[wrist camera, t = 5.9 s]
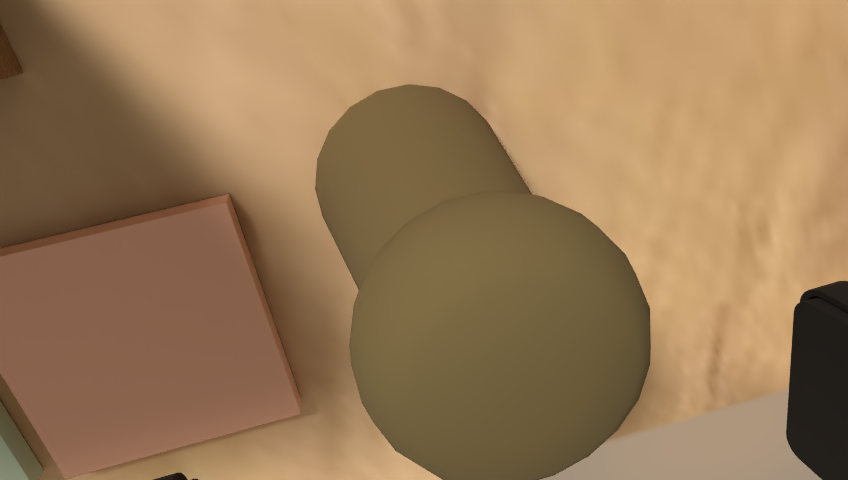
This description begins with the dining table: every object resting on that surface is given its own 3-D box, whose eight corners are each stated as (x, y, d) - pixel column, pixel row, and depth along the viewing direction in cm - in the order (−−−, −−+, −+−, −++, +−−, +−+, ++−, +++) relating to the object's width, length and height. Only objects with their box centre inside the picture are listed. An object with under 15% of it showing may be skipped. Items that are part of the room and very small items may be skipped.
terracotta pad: (229, 193, 18) (225, 202, 17) (300, 399, 21) (300, 413, 21) (-47, 259, 17) (-62, 271, 16) (73, 462, 21) (65, 479, 20)
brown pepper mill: (278, 212, 18) (249, 478, 9) (384, 42, 17) (498, 124, 7) (434, 296, 21) (555, 585, 11) (539, 151, 19) (789, 329, 9)
